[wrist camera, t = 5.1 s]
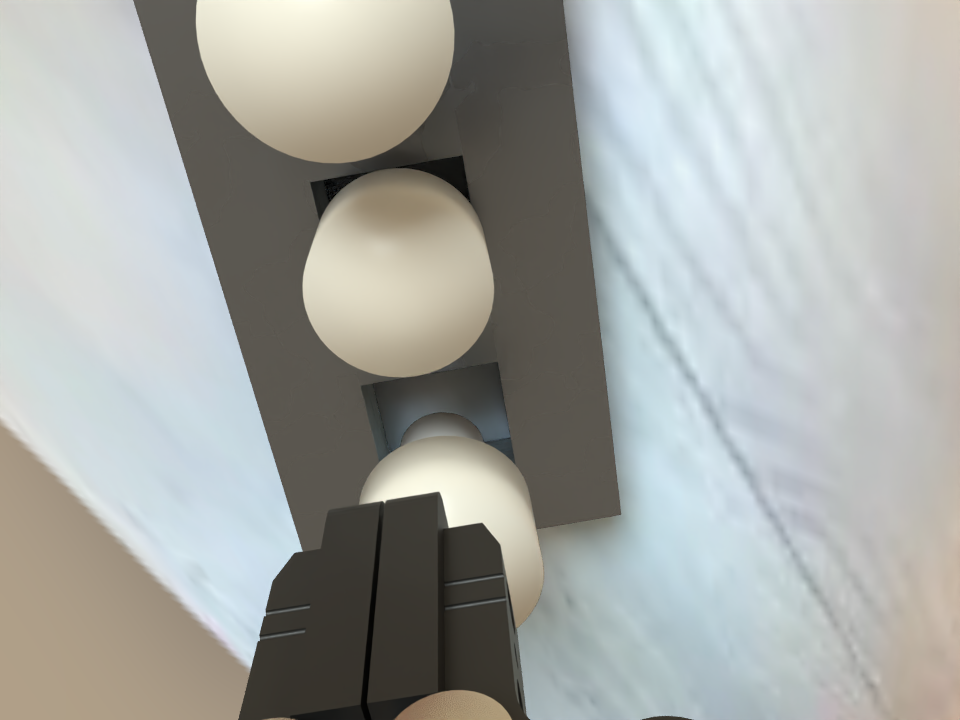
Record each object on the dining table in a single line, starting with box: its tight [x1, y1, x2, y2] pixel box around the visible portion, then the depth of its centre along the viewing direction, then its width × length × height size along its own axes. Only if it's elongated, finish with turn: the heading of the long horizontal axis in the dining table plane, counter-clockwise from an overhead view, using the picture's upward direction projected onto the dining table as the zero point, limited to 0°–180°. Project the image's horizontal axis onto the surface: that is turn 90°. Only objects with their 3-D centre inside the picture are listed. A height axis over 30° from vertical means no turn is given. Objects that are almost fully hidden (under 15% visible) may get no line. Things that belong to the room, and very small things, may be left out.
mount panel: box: [133, 0, 621, 552], centre depth 25 cm, size 10×20×2 cm, turn 9°
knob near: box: [196, 0, 454, 163], centre depth 18 cm, size 4×4×6 cm
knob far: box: [359, 412, 544, 629], centre depth 24 cm, size 4×4×6 cm
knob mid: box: [302, 168, 494, 377], centre depth 24 cm, size 4×4×6 cm
